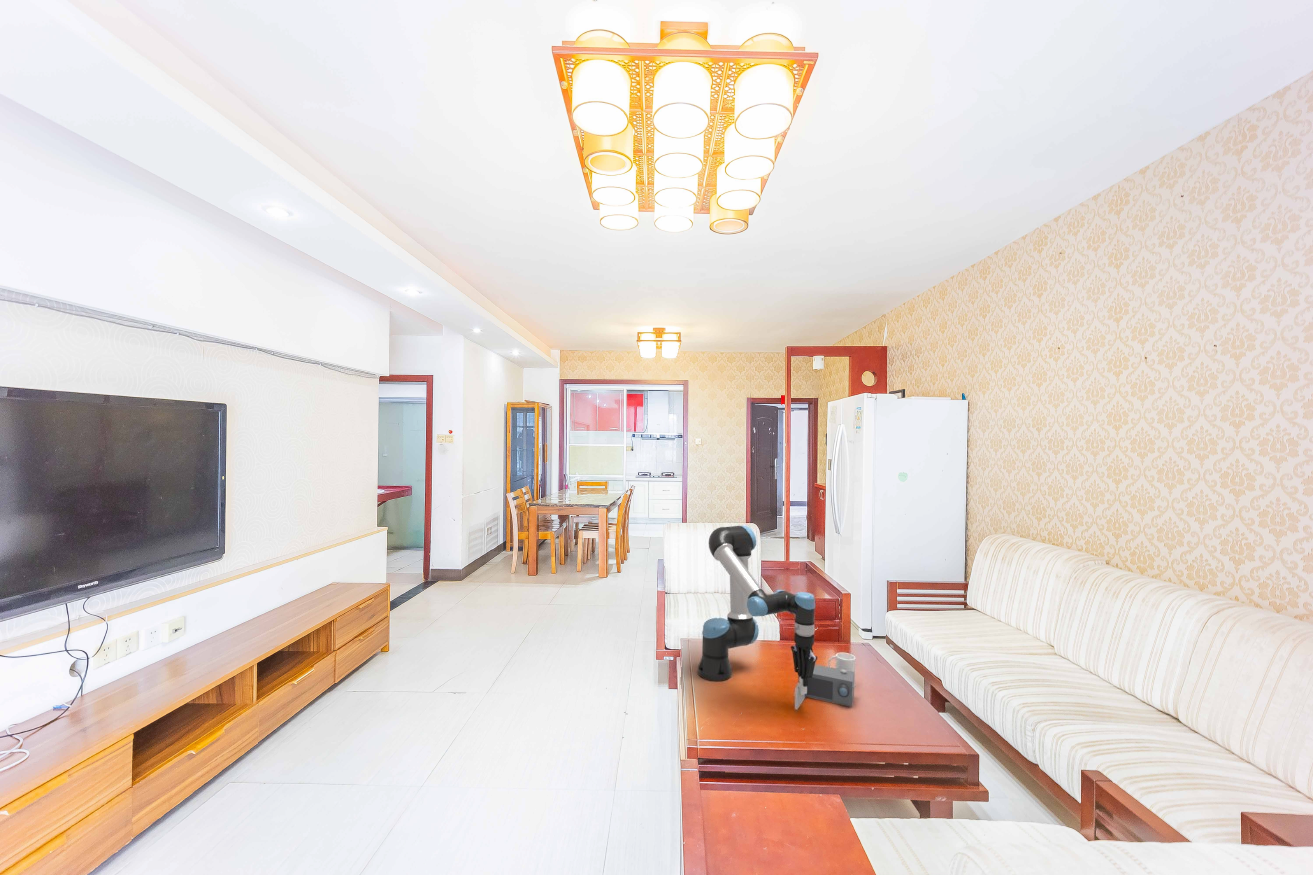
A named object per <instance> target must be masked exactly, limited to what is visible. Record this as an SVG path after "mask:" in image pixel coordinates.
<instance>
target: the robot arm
mask: <svg viewBox="0 0 1313 875" xmlns="http://www.w3.org/2000/svg"><path fill="white" fill-rule="evenodd" d="M756 546H757V537H756V534H755V532H754V531H753V529H752V528H750V527H749V526H747V525H733V526H732V525H731V526H721V527H717V528H716V529H713V531H712V532H711V534H710V535H709V538H708V549H709V552H710V553H711V555H712V558H714V560H715V561H718V562H719V563H720V564H721V566H723V568H724V570H725V571H726V572H727V574H728V575H729V597H730V598H729V599H730V603H729V604H730V608H729V609H730V611H729V612H728V613H727V619H726V618H723V617H714V618H709V619H707V620H706V621H705V622H704V623H703V625H702V627H703V628H702V633H701V634H702V649H701V650H702V652H701V657H700V660H699V663H698V666H697V675H698V676H700V678H703V679H704V680H708V681H713V682H721V681H722V682H723V681H728V680H730V679H731V678H732V676H733V669H732V665H731V662H730V658H729V649H734V648H739V647H746V646H749V645H751V644H753V643H755V642H756V640H757V639H758V637H759V633H760V632H759V631H760V630H759V625H758V624H757V623H758V622H757V620H756V619H755V618H754V617H765V616H770V615H774V614H776V615H777V614H781V613H789V614H791V615H793V616H794V633H793V634H794V636H793V638H794V639H793V640H794V644H795V645H791V646H790V650H791V652H792V659H793V668H794V672H795V673H797V677H798V683H799V694H801V695H803V694H807V686H808V679H809V678H812V676H813V671H814V667H815V664H816V662H817V660H818V656H817V655H815V654H814V652H813V651H814V650H813V646H814V644H815V619H816V618H815V614H816V612H815V611H816V600H815V595H814V594H813V593H810V592H806V591H800V592H799V591H798V592H796V593H795V594H794V593H792V592H789V591H786V590H783V589H777V590H776V591H775V592H773V593H770V594H767V593H766V592H765V590H764V589H763V588H762V587H761V585H760V584H759V583H758V582H757V581H756V579H755V578H754V576H753V575H752V574H751V572H750V571H749V559H750V557H752V551H753V550H755V549H756Z"/></svg>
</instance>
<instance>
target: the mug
mask: <svg viewBox="0 0 1313 875" xmlns="http://www.w3.org/2000/svg"><path fill="white" fill-rule="evenodd" d="M833 659H835V668H837V669H845V670H847V671H852V672H855V673H856V656H855V655H853V654H851V653H847V652H837V653H836V654H835V655H833V656H831V657H830V658H829V659H828V667H831V668H832V666H831V660H833ZM855 687H856V676H855V677H854V688H855Z"/></svg>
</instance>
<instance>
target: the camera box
mask: <svg viewBox="0 0 1313 875" xmlns="http://www.w3.org/2000/svg"><path fill="white" fill-rule="evenodd" d="M854 677H855V678H856V671H855V672H852V671H847V670H845V669H837V668H836V667H832V666H831V667H829V666H826V665H825V666H824V665H820V664H816V663H815V667H814V671H813V676H812V678H809V679H808V686H807V694H805V698H810V699H813V700H819V701H824V702H828V703H832V704H837V705H842V706H846V707H851V708H852V707H853V704H854V698H855V687H854Z"/></svg>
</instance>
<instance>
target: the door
mask: <svg viewBox="0 0 1313 875" xmlns="http://www.w3.org/2000/svg"><path fill="white" fill-rule="evenodd" d="M793 697H794V710H797V711H798V709H799V707H800V706H801V705H802V703H803V702H804V700H805V699H806V697H805V694H803V695H801V694H799V682H798V683H797V684H796V686H795V688H794V693H793Z"/></svg>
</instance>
